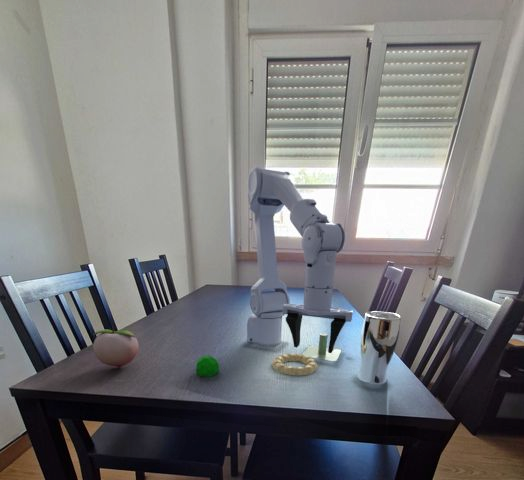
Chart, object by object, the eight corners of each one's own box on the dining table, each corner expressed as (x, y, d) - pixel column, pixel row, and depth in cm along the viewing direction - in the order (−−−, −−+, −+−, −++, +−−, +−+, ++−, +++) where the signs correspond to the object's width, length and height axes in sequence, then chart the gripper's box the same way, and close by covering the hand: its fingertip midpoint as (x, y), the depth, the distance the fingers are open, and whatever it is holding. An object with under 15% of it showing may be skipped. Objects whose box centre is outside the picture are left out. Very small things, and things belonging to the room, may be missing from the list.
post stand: (300, 359, 72) (301, 336, 70) (309, 348, 80) (311, 327, 77) (335, 366, 69) (338, 342, 66) (341, 354, 76) (344, 332, 74)
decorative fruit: (90, 377, 61) (80, 332, 57) (104, 362, 68) (96, 322, 65) (136, 374, 62) (129, 331, 59) (144, 360, 70) (139, 321, 66)
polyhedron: (205, 370, 65) (204, 351, 63) (223, 374, 63) (223, 355, 61) (191, 379, 61) (190, 358, 59) (210, 384, 59) (209, 363, 57)
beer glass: (385, 394, 56) (399, 321, 51) (350, 384, 60) (360, 315, 54) (390, 380, 62) (404, 314, 56) (358, 373, 65) (368, 309, 60)
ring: (265, 374, 64) (265, 364, 63) (281, 358, 73) (281, 349, 72) (310, 383, 60) (311, 373, 59) (321, 365, 69) (322, 356, 68)
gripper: (278, 286, 57) (276, 349, 62) (352, 292, 52) (343, 360, 56) (289, 282, 63) (286, 340, 68) (357, 287, 58) (348, 349, 62)
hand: (313, 348), depth 62 cm, fingers open, 7 cm apart
